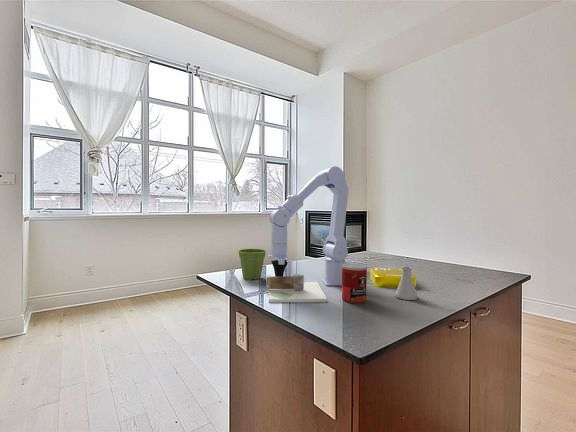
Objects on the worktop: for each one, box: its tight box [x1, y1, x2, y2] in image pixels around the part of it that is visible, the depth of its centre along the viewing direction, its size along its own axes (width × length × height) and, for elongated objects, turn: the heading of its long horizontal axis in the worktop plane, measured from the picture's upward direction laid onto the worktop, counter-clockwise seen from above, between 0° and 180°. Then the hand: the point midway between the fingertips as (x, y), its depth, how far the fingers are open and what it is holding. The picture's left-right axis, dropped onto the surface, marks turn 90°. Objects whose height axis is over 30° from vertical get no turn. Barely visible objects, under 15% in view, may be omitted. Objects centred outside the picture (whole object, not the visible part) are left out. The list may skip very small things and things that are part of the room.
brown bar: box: [265, 273, 305, 290], centre depth 104 cm, size 13×4×4 cm, turn 93°
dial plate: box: [268, 281, 328, 304], centre depth 104 cm, size 18×20×1 cm
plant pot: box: [237, 248, 268, 281], centre depth 124 cm, size 12×12×11 cm
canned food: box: [341, 262, 368, 304], centre depth 97 cm, size 8×8×11 cm
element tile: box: [369, 267, 417, 289], centre depth 119 cm, size 15×15×5 cm
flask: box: [394, 265, 419, 301], centre depth 100 cm, size 7×7×10 cm
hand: (279, 280), depth 110 cm, fingers closed
